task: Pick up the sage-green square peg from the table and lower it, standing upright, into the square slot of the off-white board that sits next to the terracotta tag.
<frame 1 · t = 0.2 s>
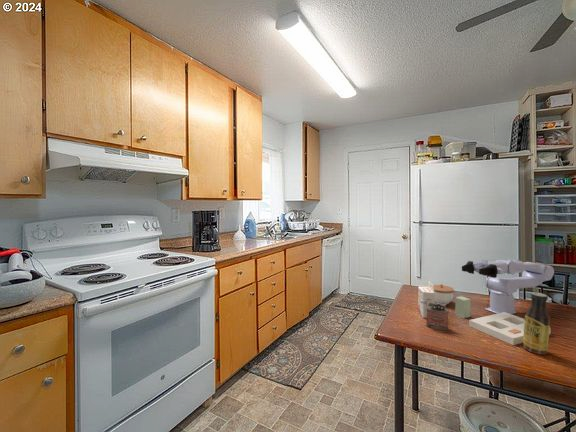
hand: (470, 270, 116), 21 cm above the table, tool horizontal, fingers open, 7 cm apart
sauce bottle: (535, 351, 91), on the table
ink cartridge box: (425, 315, 121), on the table
peg: (462, 315, 119), on the table
slot board: (508, 330, 106), on the table
lidded jar: (441, 303, 135), on the table
lighter: (436, 327, 109), on the table
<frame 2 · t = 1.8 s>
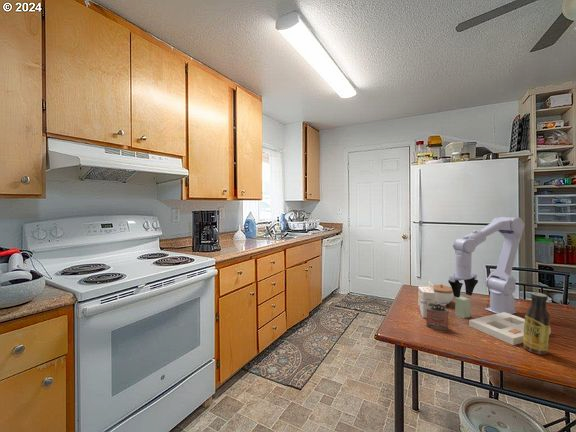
hand: (462, 295, 119), 9 cm above the table, tool pointing down, fingers open, 7 cm apart
nothing on the table moved.
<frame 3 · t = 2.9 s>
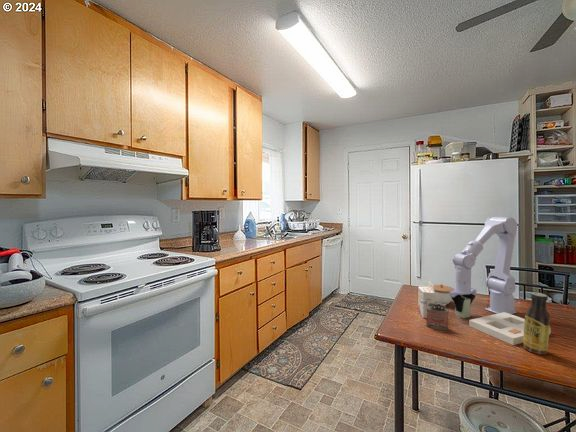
hand: (462, 310, 119), 2 cm above the table, tool pointing down, fingers closed on peg, 4 cm apart
peg: (462, 315, 119), on the table, touching gripper
everything else where it was.
when the fingers open (3 cm above the table, at t = 7.2 s): peg stays where it is, resting in slot board.
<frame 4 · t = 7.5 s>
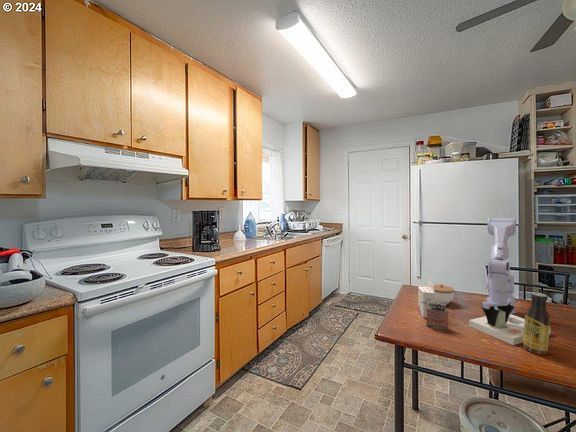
hand: (497, 323, 105), 3 cm above the table, tool pointing down, fingers open, 6 cm apart
peg: (496, 330, 105), resting in slot board
everything else where it was.
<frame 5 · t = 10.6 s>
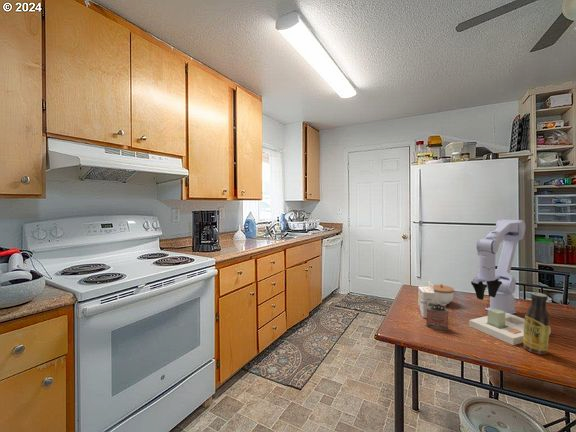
hand: (486, 297, 115), 9 cm above the table, tool pointing down, fingers open, 7 cm apart
nothing on the table moved.
at the end: peg 0.4 cm from the target spot on the slot board, point 0.0 cm above the slot board's base; peg tilted 0°; the gripper is holding nothing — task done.
